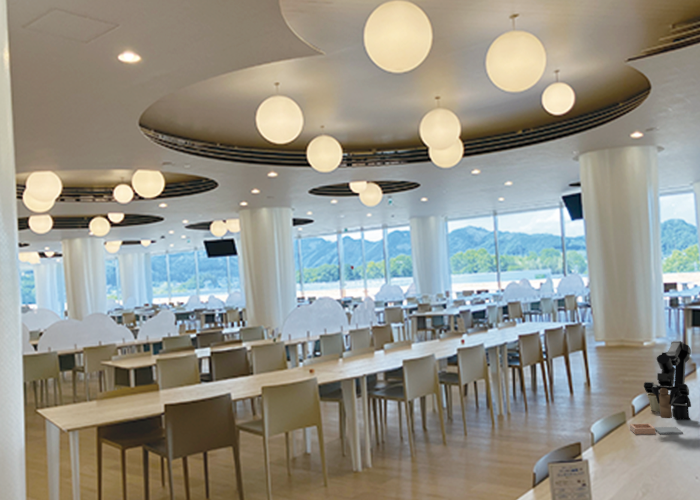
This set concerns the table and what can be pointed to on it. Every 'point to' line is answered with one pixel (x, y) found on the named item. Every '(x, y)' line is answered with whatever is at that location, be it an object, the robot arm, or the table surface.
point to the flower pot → (653, 402)
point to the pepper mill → (665, 403)
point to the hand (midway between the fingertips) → (664, 403)
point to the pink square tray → (642, 428)
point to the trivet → (668, 430)
